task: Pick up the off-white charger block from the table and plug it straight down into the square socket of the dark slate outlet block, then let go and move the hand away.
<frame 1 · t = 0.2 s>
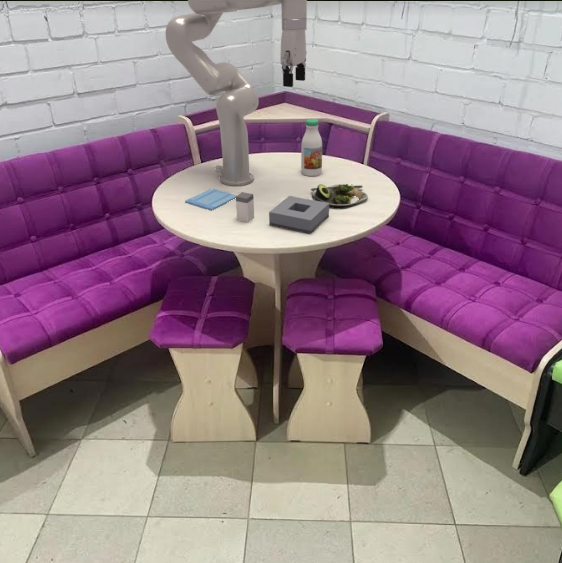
hand: (294, 83, 179), 36 cm above the table, tool pointing down, fingers open, 9 cm apart
blue striped cloth: (211, 202, 192), on the table
outlet block: (299, 220, 177), on the table
charger: (245, 218, 179), on the table
milk bottle: (311, 173, 213), on the table
salad plate: (337, 199, 192), on the table
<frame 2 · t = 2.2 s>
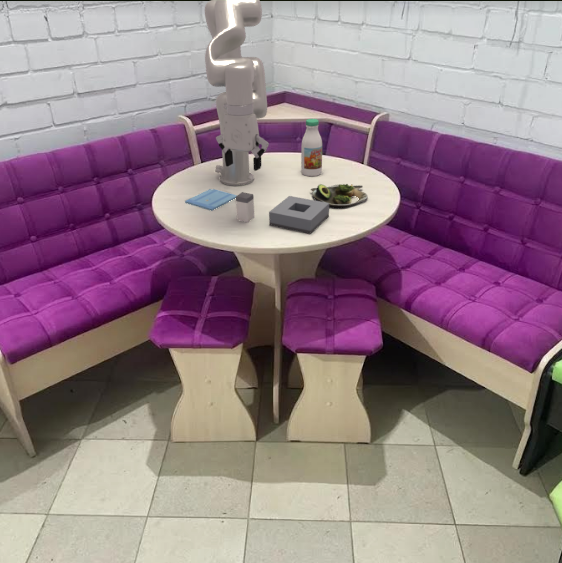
hand: (243, 167, 169), 17 cm above the table, tool pointing down, fingers open, 9 cm apart
nothing on the table moved.
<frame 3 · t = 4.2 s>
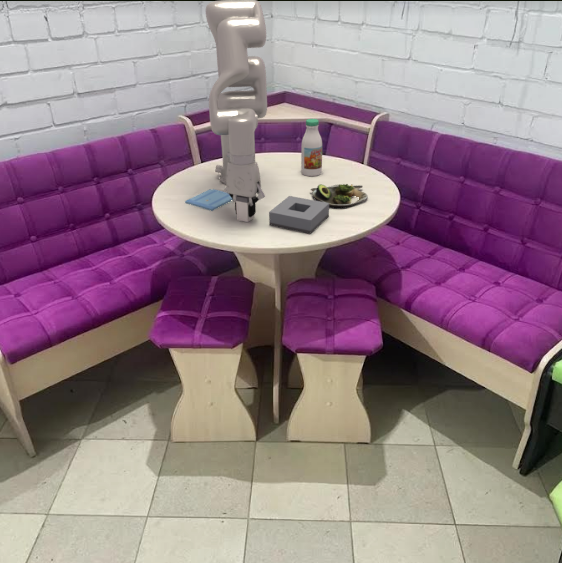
hand: (245, 213, 178), 2 cm above the table, tool pointing down, fingers closed on charger, 3 cm apart
charger: (245, 218, 179), on the table, touching gripper
everything else where it was.
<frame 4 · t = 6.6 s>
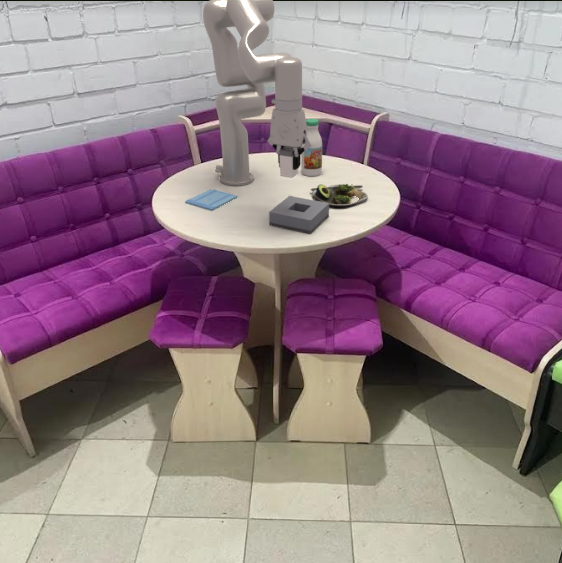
hand: (289, 166, 168), 18 cm above the table, tool pointing down, fingers closed on charger, 4 cm apart
charger: (289, 174, 169), point 15 cm above the table, touching gripper
everything else where it was.
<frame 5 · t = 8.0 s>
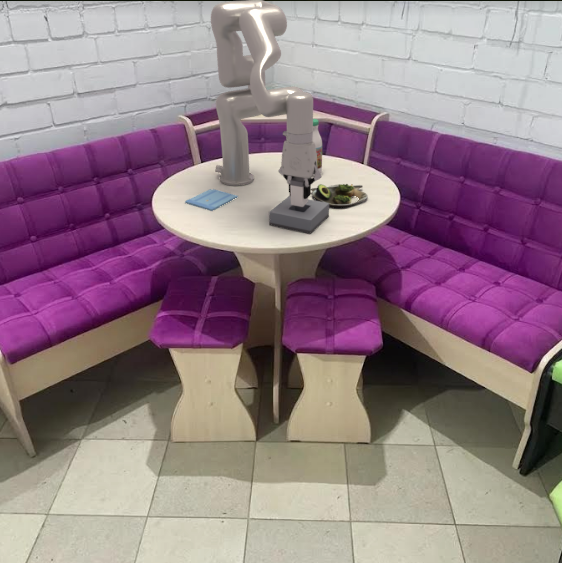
hand: (299, 195, 173), 8 cm above the table, tool pointing down, fingers closed on charger, 4 cm apart
charger: (299, 203, 174), point 6 cm above the table, touching gripper
everything else where it was.
when the fingers open (5 cm above the table, at t = 9.0 s): charger drops 2 cm, resting on outlet block.
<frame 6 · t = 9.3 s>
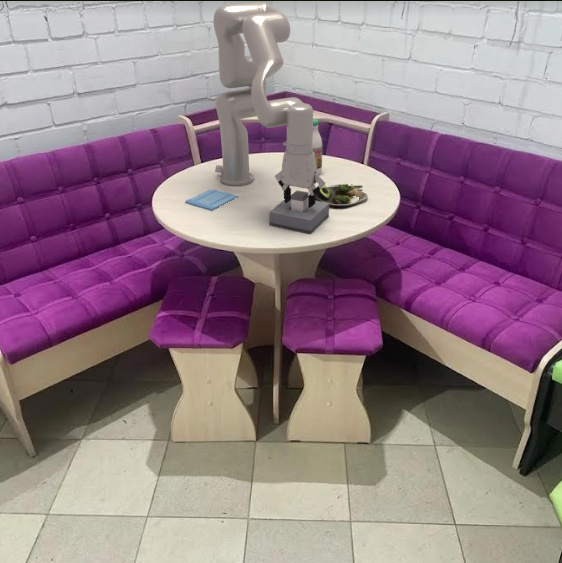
hand: (299, 203, 174), 6 cm above the table, tool pointing down, fingers open, 7 cm apart
charger: (299, 217, 176), point 1 cm above the table, touching outlet block
everything else where it was.
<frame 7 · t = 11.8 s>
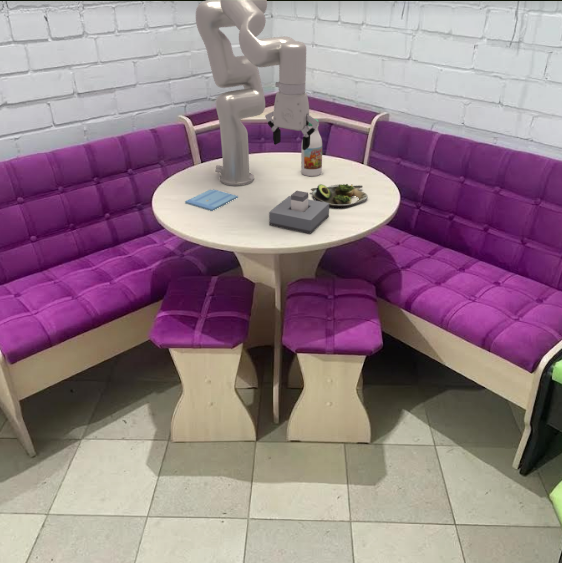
hand: (291, 145, 171), 22 cm above the table, tool pointing down, fingers open, 9 cm apart
nothing on the table moved.
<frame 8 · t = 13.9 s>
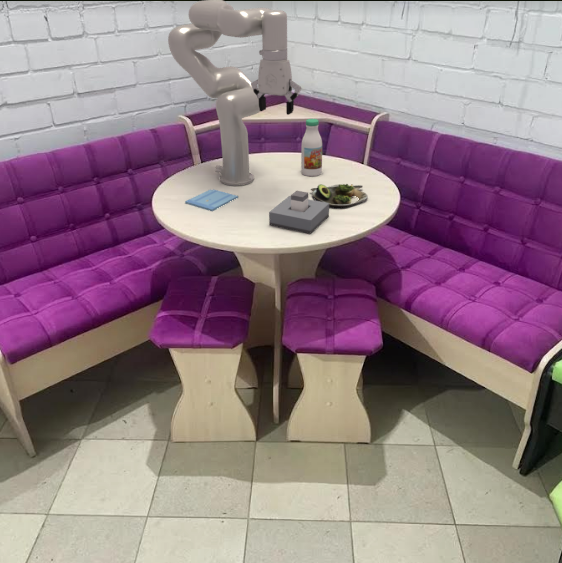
hand: (276, 112, 181), 28 cm above the table, tool pointing down, fingers open, 9 cm apart
nothing on the table moved.
at the end: charger 0.1 cm off-centre on the outlet block, point 1.0 cm above the outlet block's base; charger tilted 0°; the gripper is holding nothing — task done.
